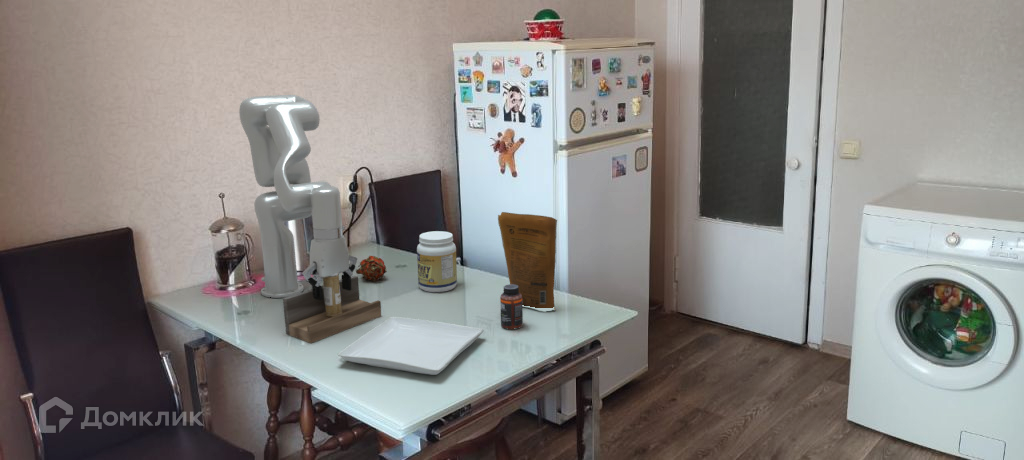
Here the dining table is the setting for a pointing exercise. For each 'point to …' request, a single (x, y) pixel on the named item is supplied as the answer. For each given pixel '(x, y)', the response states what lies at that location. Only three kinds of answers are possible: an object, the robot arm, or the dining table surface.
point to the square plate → (411, 345)
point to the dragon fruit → (372, 268)
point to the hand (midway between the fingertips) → (332, 294)
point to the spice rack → (310, 314)
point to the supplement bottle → (511, 307)
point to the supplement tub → (436, 261)
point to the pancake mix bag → (530, 256)
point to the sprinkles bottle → (332, 295)
